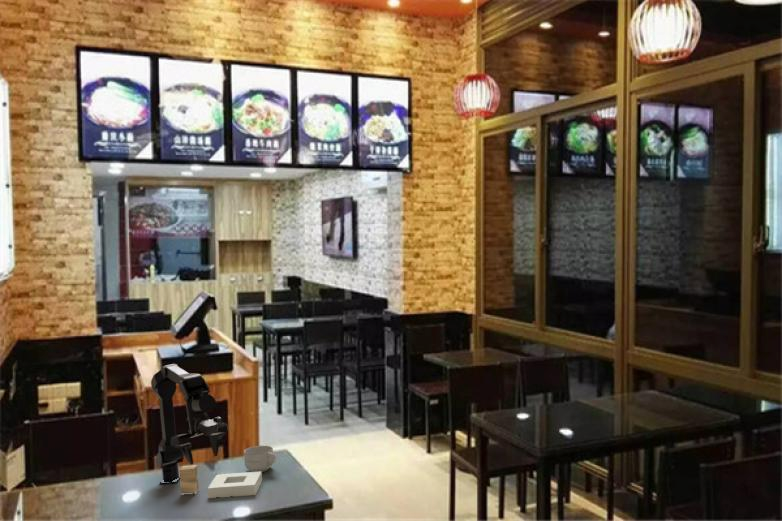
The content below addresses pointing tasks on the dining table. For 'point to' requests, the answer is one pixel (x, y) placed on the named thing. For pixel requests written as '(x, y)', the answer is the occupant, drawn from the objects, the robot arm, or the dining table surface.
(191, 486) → the wooden bar
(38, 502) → the dining table surface
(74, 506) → the dining table surface
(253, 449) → the teacup
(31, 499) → the dining table surface
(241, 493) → the well block
